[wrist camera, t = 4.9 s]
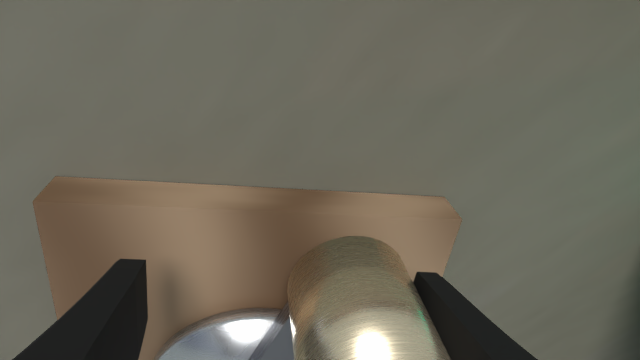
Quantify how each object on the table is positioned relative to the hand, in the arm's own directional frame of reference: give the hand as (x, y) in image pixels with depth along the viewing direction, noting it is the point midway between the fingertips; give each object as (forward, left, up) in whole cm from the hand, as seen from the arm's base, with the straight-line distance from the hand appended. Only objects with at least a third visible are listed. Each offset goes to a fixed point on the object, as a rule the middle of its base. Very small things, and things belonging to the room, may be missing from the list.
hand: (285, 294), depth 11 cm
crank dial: (0, -4, -2) cm, 5 cm away
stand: (-1, -5, -4) cm, 7 cm away
